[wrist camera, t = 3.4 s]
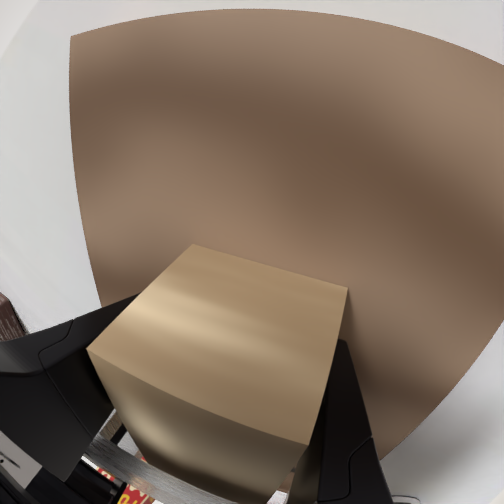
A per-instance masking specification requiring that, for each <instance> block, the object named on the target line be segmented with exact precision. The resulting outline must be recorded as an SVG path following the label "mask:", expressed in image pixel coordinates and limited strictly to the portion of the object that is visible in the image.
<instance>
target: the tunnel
mask: <svg viewBox="0 0 504 504" xmlns="http://www.w3.org/2000/svg"><path fill="white" fill-rule="evenodd" d="M122 423H123V422H122V420H121V419H120V417H119V415H118V413H117V411H116V410H115V409H114V410H113V412H112V413H111V415H110V416H109V417H108V419H107V420H106V422H105V423H104V425H103V426H102V428H101V429H100V431H99V432H98V433H97V435H96V436H95V438H93V441H92V443H91V444H90V445H89V447H88V448H87V450H86V452H87V454H88V455H89V456H90V457H91V458H92V459H93V460H94V461H95V462H96V463H97V464H98V465H99V466H101V467H102V468H103V469H105V470H106V471H108V472H110V473H111V474H113V475H114V476H116V477H117V478H119V479H121V480H122V481H124V482H126V483H127V484H129V485H131V486H132V487H134V488H136V489H138V490H139V491H141V492H143V493H145V494H147V495H148V496H150V497H152V498H154V499H156V500H158V501H160V502H162V503H164V504H238V503H235V502H232V501H230V500H227V499H224V498H222V497H219V496H217V495H214V494H211V493H209V492H207V491H204V490H202V489H200V488H197V487H195V486H193V485H190V484H188V483H186V482H184V481H182V480H180V479H177V478H175V477H173V476H171V475H169V474H167V473H165V472H163V471H161V470H159V469H157V468H155V467H154V466H152V465H150V464H148V463H146V462H144V461H143V460H141V458H142V457H143V455H142V454H141V452H140V451H139V449H138V448H137V446H136V444H135V443H134V441H133V439H132V438H131V436H130V434H129V433H128V431H127V432H126V434H125V435H124V436H123V438H122V439H121V441H120V442H119V443H118V445H115V444H114V443H112V442H111V441H110V439H111V438H112V437H113V435H114V434H115V433H116V431H117V430H118V429H119V427H120V426H121V425H122ZM292 481H293V480H292ZM291 485H292V483H291ZM290 489H291V486H290V488H289V491H288V493H287V496H286V499H285V501H284V504H286V503H287V500H288V496H289V492H290Z"/></svg>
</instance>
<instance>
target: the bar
mask: <svg viewBox="0 0 504 504" xmlns="http://www.w3.org/2000/svg"><path fill="white" fill-rule="evenodd" d="M347 290H348V288H347V287H344V286H340V285H336V284H333V283H329V282H326V281H322V280H319V279H315V278H311V277H308V276H304V275H301V274H297V273H294V272H290V271H287V270H283V269H279V268H276V267H272V266H269V265H265V264H262V263H258V262H255V261H251V260H248V259H244V258H241V257H237V256H234V255H230V254H227V253H223V252H220V251H216V250H213V249H209V248H206V247H202V246H199V245H195V244H192V245H191V246H190V247H189V248H188V249H186V250H185V251H184V252H183V253H182V254H181V255H180V256H179V257H178V258H177V259H176V260H175V261H174V262H173V263H172V264H171V265H170V266H169V267H167V268H166V269H165V270H164V271H163V272H162V273H161V274H160V275H159V276H158V277H157V278H156V279H155V280H154V281H153V282H152V283H151V284H150V285H149V286H148V287H147V288H146V289H145V290H144V291H143V292H142V293H141V294H140V295H139V296H138V297H137V298H136V299H135V300H134V301H133V302H132V303H131V304H130V305H129V306H128V307H127V308H126V309H125V310H124V311H123V312H122V313H121V314H120V315H119V316H118V317H117V318H116V319H115V320H114V321H113V322H112V323H111V324H110V325H109V326H108V327H107V328H106V329H105V330H104V331H103V332H102V333H101V334H100V335H99V336H98V337H97V338H96V339H95V340H94V341H93V342H92V343H91V344H90V345H89V346H88V347H87V348H86V349H87V351H88V354H89V356H90V358H91V361H92V363H93V365H94V367H95V369H96V372H97V374H98V376H99V378H100V380H101V382H102V384H103V386H104V388H105V390H106V392H107V394H108V396H109V398H110V400H111V402H112V404H113V406H114V408H115V410H116V411H117V413H118V415H119V417H120V419H121V420H122V422H123V424H124V426H125V427H126V429H127V431H128V433H129V434H130V436H131V438H132V439H133V441H134V443H135V444H136V446H137V448H138V449H139V451H140V452H141V454H142V455H143V457H144V459H145V460H146V462H147V463H148V464H150V465H152V466H154V467H155V468H157V469H159V470H161V471H163V472H165V473H167V474H169V475H171V476H173V477H175V478H177V479H180V480H182V481H184V482H186V483H188V484H190V485H193V486H195V487H197V488H200V489H202V490H204V491H207V492H209V493H211V494H214V495H217V496H219V497H222V498H224V499H227V500H230V501H232V502H235V503H238V504H266V503H267V502H268V501H269V499H270V498H271V497H272V495H273V494H274V493H275V492H276V490H277V489H278V488H279V486H280V485H281V484H282V482H283V481H284V480H285V478H286V477H287V475H288V474H289V473H290V471H291V470H292V468H293V467H294V466H295V464H296V463H297V461H298V460H299V458H300V457H301V456H302V454H303V453H304V451H305V450H306V448H307V447H308V445H309V442H310V439H311V436H312V432H313V429H314V426H315V423H316V419H317V416H318V412H319V409H320V405H321V402H322V398H323V395H324V391H325V387H326V384H327V380H328V376H329V372H330V368H331V364H332V360H333V356H334V352H335V347H336V343H337V339H338V334H339V330H340V325H341V320H342V315H343V311H344V306H345V301H346V295H347Z"/></svg>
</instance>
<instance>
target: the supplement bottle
mask: <svg viewBox="0 0 504 504" xmlns="http://www.w3.org/2000/svg"><path fill="white" fill-rule="evenodd" d="M392 499H393V502H394V504H420V501H419V500H417V499H415V498H411V497H399V496H395V497H392Z"/></svg>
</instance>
